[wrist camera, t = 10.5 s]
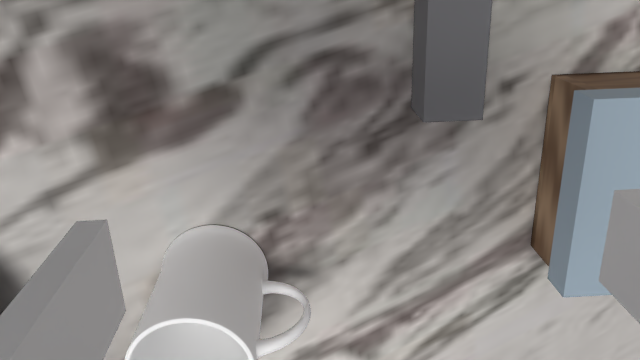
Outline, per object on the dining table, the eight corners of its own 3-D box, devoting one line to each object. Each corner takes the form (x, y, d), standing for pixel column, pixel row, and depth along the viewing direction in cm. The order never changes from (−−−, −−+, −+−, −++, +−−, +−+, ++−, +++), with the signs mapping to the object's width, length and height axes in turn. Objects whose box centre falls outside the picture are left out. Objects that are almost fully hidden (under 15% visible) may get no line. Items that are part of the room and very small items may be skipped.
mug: (307, 221, 43) (312, 311, 32) (308, 312, 47) (314, 422, 35) (156, 225, 43) (109, 317, 32) (168, 316, 46) (128, 430, 35)
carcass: (552, 75, 40) (620, 104, 32) (656, 70, 40) (752, 99, 32) (530, 245, 45) (584, 309, 37) (623, 240, 45) (698, 303, 37)
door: (574, 90, 35) (594, 99, 33) (710, 84, 36) (739, 93, 33) (547, 278, 40) (563, 297, 38) (666, 271, 41) (689, 290, 38)
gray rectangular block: (416, -72, 36) (431, -76, 32) (477, -74, 36) (498, -78, 32) (411, 107, 40) (423, 122, 37) (465, 105, 40) (482, 119, 37)
